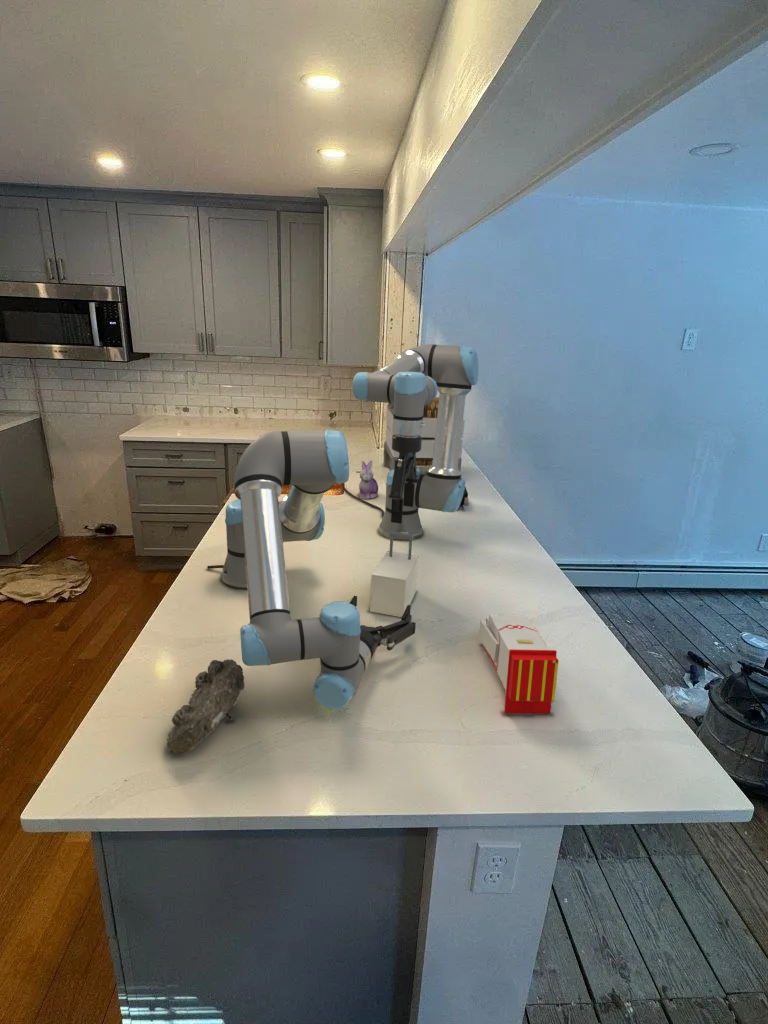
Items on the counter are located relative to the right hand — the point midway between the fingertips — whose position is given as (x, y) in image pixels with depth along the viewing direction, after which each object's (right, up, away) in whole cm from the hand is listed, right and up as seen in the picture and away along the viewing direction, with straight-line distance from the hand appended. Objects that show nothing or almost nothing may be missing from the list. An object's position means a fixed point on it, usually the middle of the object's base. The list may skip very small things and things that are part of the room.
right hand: (402, 514), depth 150 cm
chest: (-2, -24, +3) cm, 24 cm away
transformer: (+12, +19, +125) cm, 127 cm away
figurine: (-12, +7, +88) cm, 89 cm away
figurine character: (+25, +3, +81) cm, 85 cm away
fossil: (-38, -39, -42) cm, 69 cm away
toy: (+23, -35, -25) cm, 49 cm away
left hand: (-5, -22, -11) cm, 26 cm away
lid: (-2, -14, +1) cm, 14 cm away
